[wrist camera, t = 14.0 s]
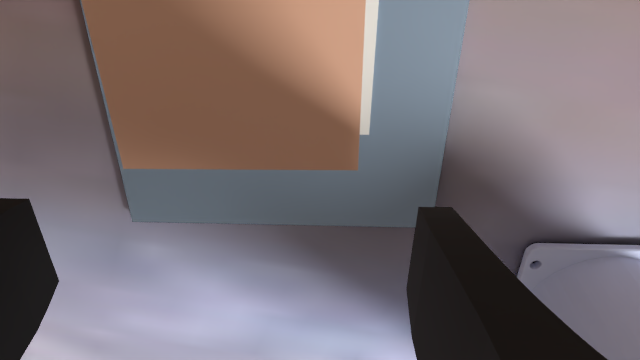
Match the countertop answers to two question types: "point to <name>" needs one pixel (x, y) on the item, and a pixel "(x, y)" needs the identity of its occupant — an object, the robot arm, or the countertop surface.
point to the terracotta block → (232, 82)
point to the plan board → (374, 143)
